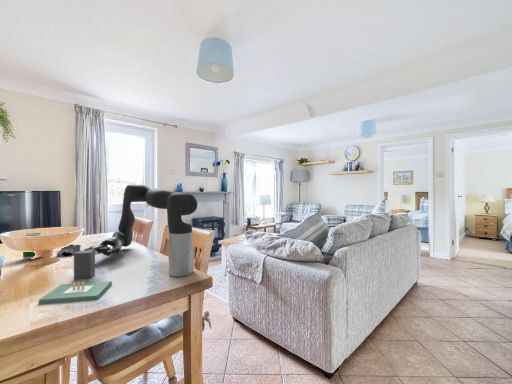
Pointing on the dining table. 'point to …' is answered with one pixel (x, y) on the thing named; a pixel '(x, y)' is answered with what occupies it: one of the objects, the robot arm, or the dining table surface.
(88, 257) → the block
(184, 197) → the robot arm
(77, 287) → the pin board
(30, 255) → the soda can
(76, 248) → the electronic device
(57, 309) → the dining table surface
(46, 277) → the dining table surface
